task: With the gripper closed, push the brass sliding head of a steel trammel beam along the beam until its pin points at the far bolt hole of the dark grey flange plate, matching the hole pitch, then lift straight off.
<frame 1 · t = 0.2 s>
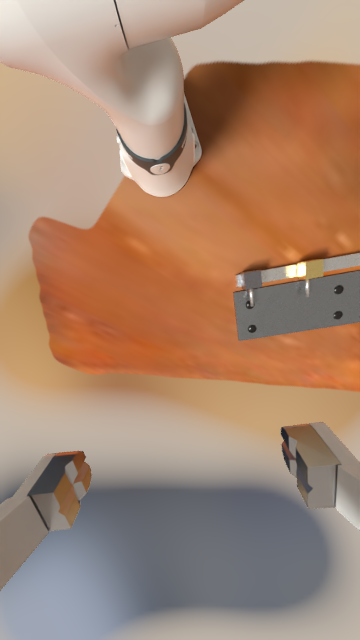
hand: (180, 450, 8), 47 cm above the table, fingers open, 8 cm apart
flange plate: (302, 306, 54), on the table
sliding head: (309, 279, 48), point 4 cm above the table, slide at 0.0 cm
trammel beam: (301, 268, 51), on the table
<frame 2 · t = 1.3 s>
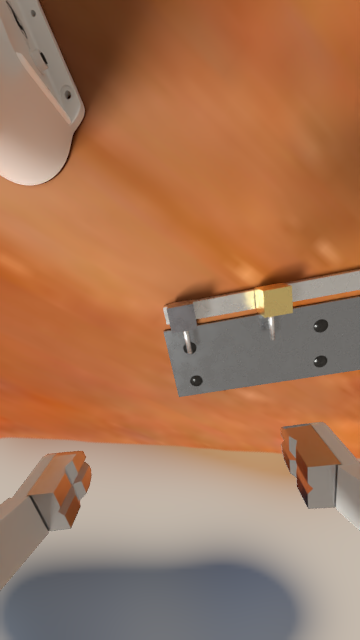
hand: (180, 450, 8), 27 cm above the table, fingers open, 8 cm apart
flange plate: (267, 348, 36), on the table
sliding head: (273, 315, 31), point 4 cm above the table, slide at 0.0 cm
trammel beam: (263, 295, 33), on the table
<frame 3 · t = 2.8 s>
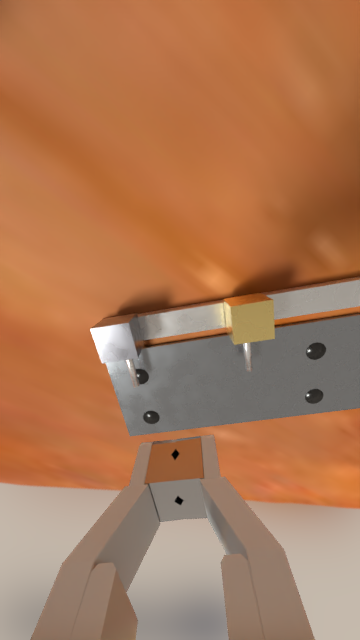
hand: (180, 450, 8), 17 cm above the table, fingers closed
flange plate: (244, 378, 27), on the table
sliding head: (249, 339, 21), point 4 cm above the table, slide at 0.0 cm
trammel beam: (238, 308, 24), on the table
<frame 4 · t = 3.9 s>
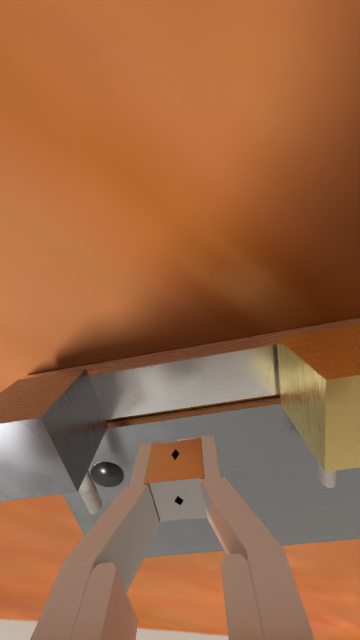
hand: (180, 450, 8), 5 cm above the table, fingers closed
flange plate: (303, 472, 14), on the table
sliding head: (344, 434, 9), point 4 cm above the table, slide at 0.0 cm
trammel beam: (299, 351, 12), on the table
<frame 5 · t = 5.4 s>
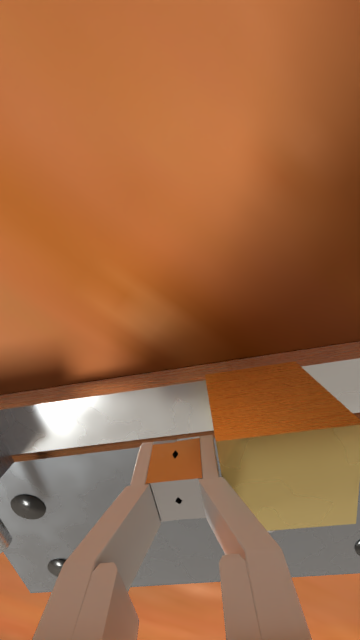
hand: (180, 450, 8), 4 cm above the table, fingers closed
flange plate: (234, 508, 14), on the table
sliding head: (271, 482, 8), point 4 cm above the table, slide at 1.5 cm, touching gripper
trammel beam: (215, 386, 11), on the table
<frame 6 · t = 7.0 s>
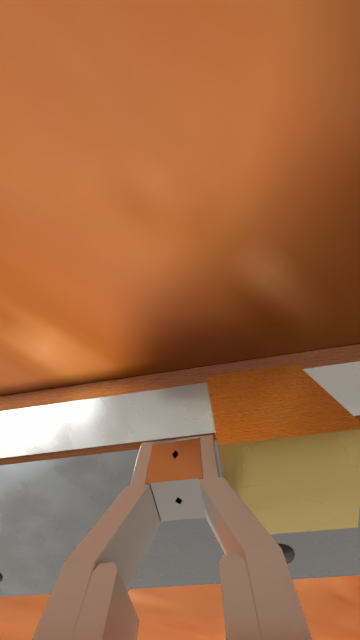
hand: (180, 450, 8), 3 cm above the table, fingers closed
flange plate: (145, 517, 14), on the table
sliding head: (272, 485, 8), point 4 cm above the table, slide at 8.0 cm, touching gripper
trammel beam: (107, 403, 12), on the table
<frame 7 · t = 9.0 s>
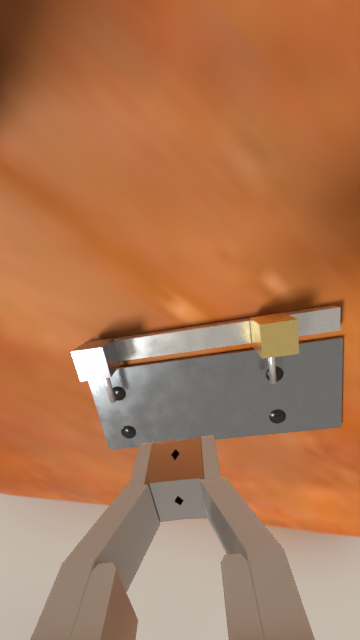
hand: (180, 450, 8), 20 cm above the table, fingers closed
flange plate: (212, 397, 30), on the table
sliding head: (274, 354, 24), point 4 cm above the table, slide at 8.1 cm
trammel beam: (203, 335, 27), on the table
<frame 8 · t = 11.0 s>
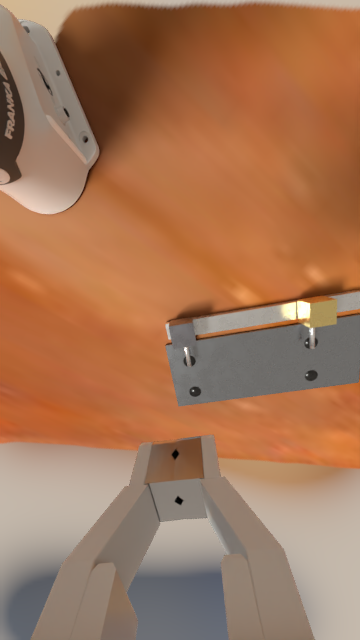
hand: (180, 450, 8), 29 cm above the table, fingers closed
flange plate: (262, 362, 39), on the table
sliding head: (316, 325, 33), point 4 cm above the table, slide at 8.1 cm
trammel beam: (258, 314, 36), on the table
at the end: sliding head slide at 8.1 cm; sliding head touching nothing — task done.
